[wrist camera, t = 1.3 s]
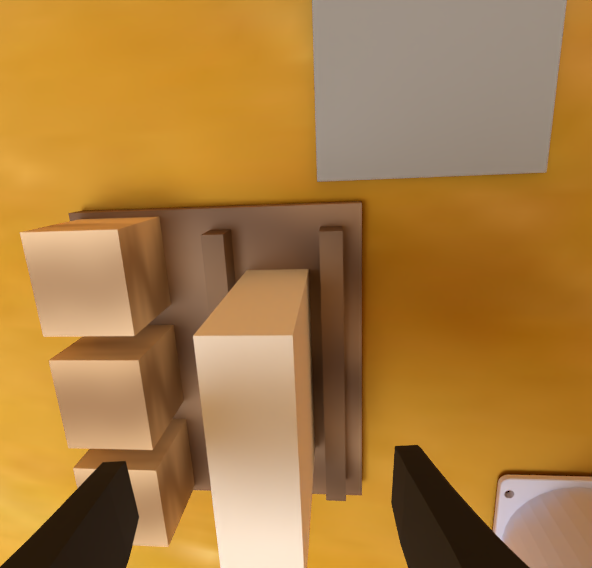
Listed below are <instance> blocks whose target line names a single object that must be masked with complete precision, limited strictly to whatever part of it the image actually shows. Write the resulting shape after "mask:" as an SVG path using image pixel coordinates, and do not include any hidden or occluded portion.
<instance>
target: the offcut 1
mask: <svg viewBox="0 0 592 568" xmlns="http://www.w3.org/2000/svg"><path fill="white" fill-rule="evenodd" d="M20 235H21V239H22V244H23V248H24V253H25V257H26V262H27V266H28V271H29V275H30V279H31V284H32V288H33V293H34V297H35V302H36V306H37V310H38V315H39V319H40V324H41V328H42V333H43V337H54V336H135V335H136V334H138V333H139V332H140V331H141V330H142V329H143V328H144V327H146V326H147V325H148V324H149V323H150V322H151V321H153V320H154V319H155V318H156V317H157V316H158V315H159V314H161V313H162V312H163V311H164V310H165V309H166V308H168V307H169V306H170V305H171V301H170V294H169V286H168V279H167V271H166V263H165V256H164V248H163V241H162V233H161V225H160V218H159V217H133V218H103V219H79V220H74V221H69V222H65V223H60V224H56V225H51V226H47V227H42V228H38V229H33V230H29V231H24V232H20Z"/></svg>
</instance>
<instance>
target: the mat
mask: <svg viewBox="0 0 592 568" xmlns="http://www.w3.org/2000/svg"><path fill="white" fill-rule="evenodd" d="M566 2H567V0H312V11H313V47H314V83H315V119H316V155H317V182H320V181H345V180H370V179H394V178H419V177H444V176H469V175H494V174H519V173H544V172H546V171H547V163H548V155H549V146H550V138H551V129H552V121H553V112H554V104H555V95H556V87H557V78H558V70H559V61H560V53H561V44H562V36H563V27H564V19H565V11H566Z"/></svg>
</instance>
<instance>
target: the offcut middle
mask: <svg viewBox="0 0 592 568" xmlns="http://www.w3.org/2000/svg"><path fill="white" fill-rule="evenodd" d="M49 364H50V368H51V373H52V377H53V381H54V386H55V390H56V395H57V399H58V404H59V408H60V413H61V417H62V421H63V426H64V430H65V435H66V439H67V444H68V448H87V449H131V450H153V449H154V447H155V446H156V444H157V443H158V441H159V439H160V438H161V436H162V435H163V433H164V431H165V430H166V428H167V427H168V425H169V424H170V422H171V420H172V419H173V417H174V416H175V414H176V413H177V411H178V409H179V408H180V406H181V405H182V403H183V401H184V400H183V392H182V385H181V377H180V370H179V362H178V354H177V347H176V339H175V332H174V325H147V326H146V327H144V328H143V329H142V330H141V331H140V332H139V333H138V334H136V335H135V336H83V337H82V338H80V339H79V340H77V341H76V342H75V343H73V344H72V345H70V346H69V347H67V348H66V349H64V350H63V351H62V352H60V353H59V354H57V355H56V356H54V357H53V358H51V359H50V360H49Z"/></svg>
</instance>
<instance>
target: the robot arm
mask: <svg viewBox="0 0 592 568" xmlns="http://www.w3.org/2000/svg"><path fill="white" fill-rule="evenodd" d="M509 490H511V491H510V492H508V493H505V492H506V491H509ZM391 503H392V508H393V512H394V517H395V522H396V526H397V530H398V535H399V539H400V543H401V547H402V550H403V553H404V556H405V559H406V562H407V565H408V568H592V477H584V476H546V475H504V476H502V477H501V478H500V479H499V481H498V488H497V497H496V506H495V515H494V525H493V531H492V530H491V529H490V528H489V527H488V526H487V525H486V524H485V523H484V522H483V520H482V519H481V518H480V517H479V516H478V515H477V514H476V513H475V512H474V511H473V510H472V508H471V507H470V506H469V505H468V504H467V503H466V502H465V501H464V500H463V498H462V497H461V496H460V495H459V494H458V493H457V492H456V490H455V489H454V488H453V487H452V486H451V485H450V483H449V482H448V481H447V480H446V479H445V477H444V476H443V475H442V474H441V473H440V471H439V470H438V469H437V468H436V466H435V465H434V464H433V463H432V461H431V460H430V459H429V458H428V456H427V455H426V454H425V453H424V451H423V450H422V449H421V448H420V447H419V446H418V445H409V446H395V454H394V470H393V486H392V501H391ZM138 520H139V514H138V509H137V505H136V501H135V497H134V493H133V489H132V485H131V481H130V477H129V473H128V468H127V464H126V461H115V462H102V463H101V465H100V466H99V467H98V468H97V469H96V470H95V471H94V472H93V473H92V474H91V475H90V476H89V477H88V478H87V479H86V480H85V481H84V482H83V483H82V484H81V485H80V486H79V488H78V489H77V490H76V491H75V492H74V493H73V494H72V495H71V496H70V497H69V498H68V499H67V500H66V501H65V502H64V503H63V505H62V506H61V507H60V508H59V509H58V510H57V511H56V512H55V513H54V514H53V515H52V516H51V517H50V518H49V519H48V520H47V521H46V522H45V523H44V524H43V525H42V526H41V527H40V528H39V529H38V530H37V531H36V532H35V533H34V534H33V535H32V536H31V537H30V538H29V539H28V540H27V541H26V542H25V543H24V544H23V545H22V546H21V547H20V548H19V549H18V550H17V551H16V552H15V553H14V554H13V555H12V556H11V557H10V558H9V559H8V560H7V561H6V562H5V563H4V564H3V565H2V566H1V567H0V568H126V566H127V563H128V560H129V557H130V553H131V549H132V545H133V541H134V537H135V533H136V529H137V524H138Z"/></svg>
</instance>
